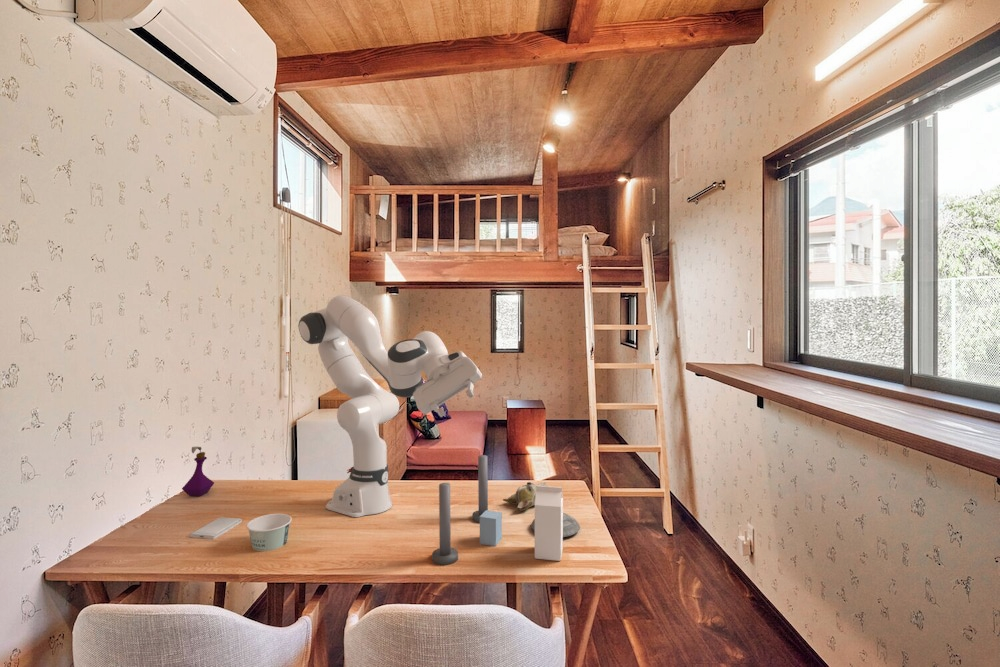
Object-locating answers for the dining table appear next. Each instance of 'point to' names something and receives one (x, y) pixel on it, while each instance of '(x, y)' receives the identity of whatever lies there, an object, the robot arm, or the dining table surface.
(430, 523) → the dining table surface
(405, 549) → the dining table surface
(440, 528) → the near post
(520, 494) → the ceramic sculpture
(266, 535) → the food container
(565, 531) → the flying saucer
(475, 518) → the far post
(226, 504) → the dining table surface
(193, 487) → the perfume bottle
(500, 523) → the slate block
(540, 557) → the milk carton
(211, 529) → the hard drive
